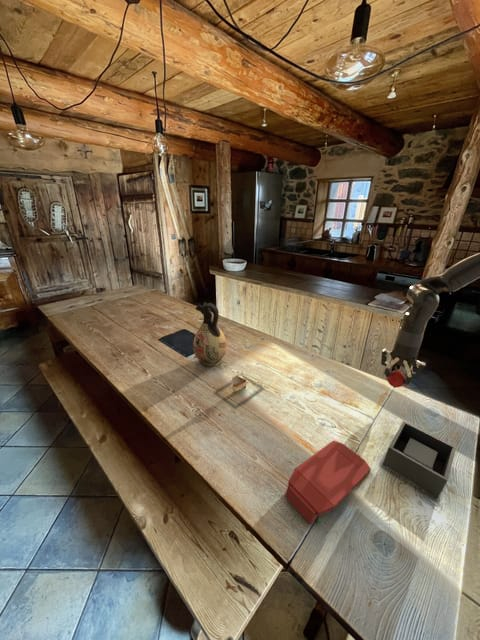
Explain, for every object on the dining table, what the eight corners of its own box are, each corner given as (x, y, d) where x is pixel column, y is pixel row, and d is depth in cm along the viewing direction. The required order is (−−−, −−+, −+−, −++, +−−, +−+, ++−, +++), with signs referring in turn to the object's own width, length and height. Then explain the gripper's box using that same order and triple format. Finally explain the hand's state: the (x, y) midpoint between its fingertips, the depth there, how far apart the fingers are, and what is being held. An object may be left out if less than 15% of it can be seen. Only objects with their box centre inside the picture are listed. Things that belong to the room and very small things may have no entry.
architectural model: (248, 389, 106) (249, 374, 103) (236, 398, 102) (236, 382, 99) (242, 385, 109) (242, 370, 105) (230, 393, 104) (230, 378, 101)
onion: (387, 390, 100) (392, 373, 96) (383, 381, 105) (388, 364, 101) (404, 393, 98) (410, 375, 95) (399, 383, 103) (405, 366, 100)
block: (405, 448, 82) (410, 437, 79) (432, 463, 77) (437, 452, 75) (398, 463, 77) (403, 452, 75) (426, 480, 73) (432, 468, 71)
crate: (396, 438, 86) (403, 420, 83) (446, 465, 78) (456, 447, 74) (381, 465, 77) (388, 447, 74) (436, 500, 69) (447, 481, 66)
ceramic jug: (187, 361, 124) (181, 301, 110) (211, 348, 134) (209, 292, 121) (211, 376, 113) (209, 313, 100) (236, 361, 124) (236, 301, 111)
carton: (332, 450, 86) (279, 490, 70) (335, 438, 84) (282, 477, 69) (367, 479, 77) (317, 532, 62) (373, 466, 76) (322, 518, 60)
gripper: (435, 344, 90) (420, 383, 98) (389, 330, 100) (379, 367, 107) (429, 352, 86) (415, 393, 93) (382, 337, 95) (372, 375, 102)
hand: (396, 379), depth 100 cm, fingers closed on onion, 6 cm apart
